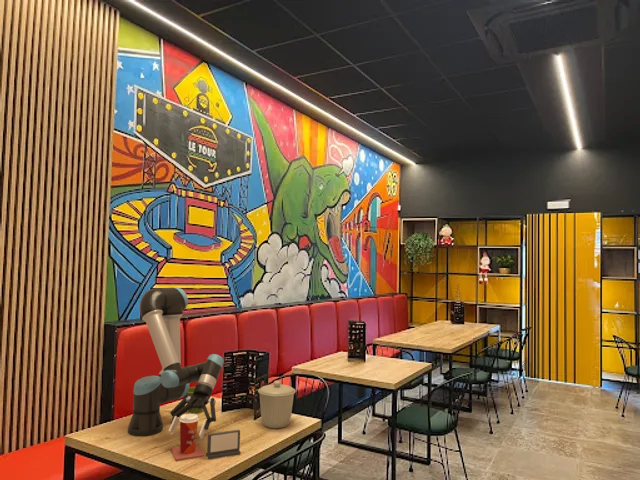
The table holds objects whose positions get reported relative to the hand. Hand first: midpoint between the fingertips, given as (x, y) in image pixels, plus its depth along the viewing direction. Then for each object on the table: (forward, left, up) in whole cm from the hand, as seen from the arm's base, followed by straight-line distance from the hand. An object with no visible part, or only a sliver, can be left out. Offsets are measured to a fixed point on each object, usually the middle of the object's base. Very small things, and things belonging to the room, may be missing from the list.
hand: (185, 434), depth 188 cm
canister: (-20, +47, -8) cm, 51 cm away
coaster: (-2, +2, -8) cm, 8 cm away
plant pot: (-54, +15, -8) cm, 56 cm away
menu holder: (+5, +15, -8) cm, 17 cm away
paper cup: (-2, +2, -8) cm, 8 cm away
